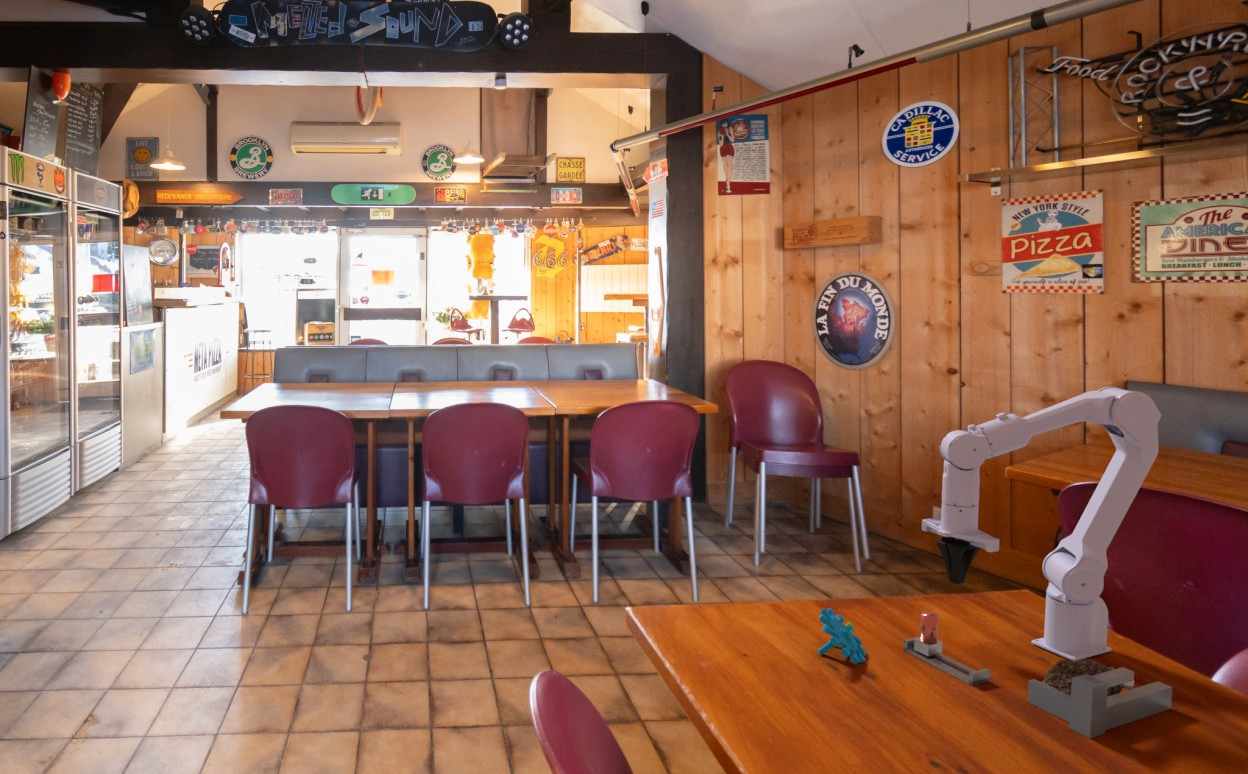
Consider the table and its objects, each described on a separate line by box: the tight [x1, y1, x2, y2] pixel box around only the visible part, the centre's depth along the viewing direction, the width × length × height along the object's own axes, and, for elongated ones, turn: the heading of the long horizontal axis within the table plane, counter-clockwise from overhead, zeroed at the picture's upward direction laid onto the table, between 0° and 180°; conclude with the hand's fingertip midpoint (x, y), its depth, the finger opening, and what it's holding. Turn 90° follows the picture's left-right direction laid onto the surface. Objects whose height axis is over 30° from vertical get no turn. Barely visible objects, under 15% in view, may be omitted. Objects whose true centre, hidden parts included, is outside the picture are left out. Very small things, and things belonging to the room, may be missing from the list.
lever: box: [914, 610, 943, 656], centre depth 132 cm, size 3×3×6 cm
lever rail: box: [903, 636, 991, 686], centre depth 130 cm, size 4×14×2 cm, turn 25°
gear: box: [817, 607, 867, 665], centre depth 133 cm, size 11×6×10 cm
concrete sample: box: [1041, 658, 1123, 697], centre depth 118 cm, size 12×10×5 cm
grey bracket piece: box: [1027, 667, 1174, 739], centre depth 116 cm, size 18×10×7 cm, turn 115°
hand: (956, 582), depth 138 cm, fingers closed
